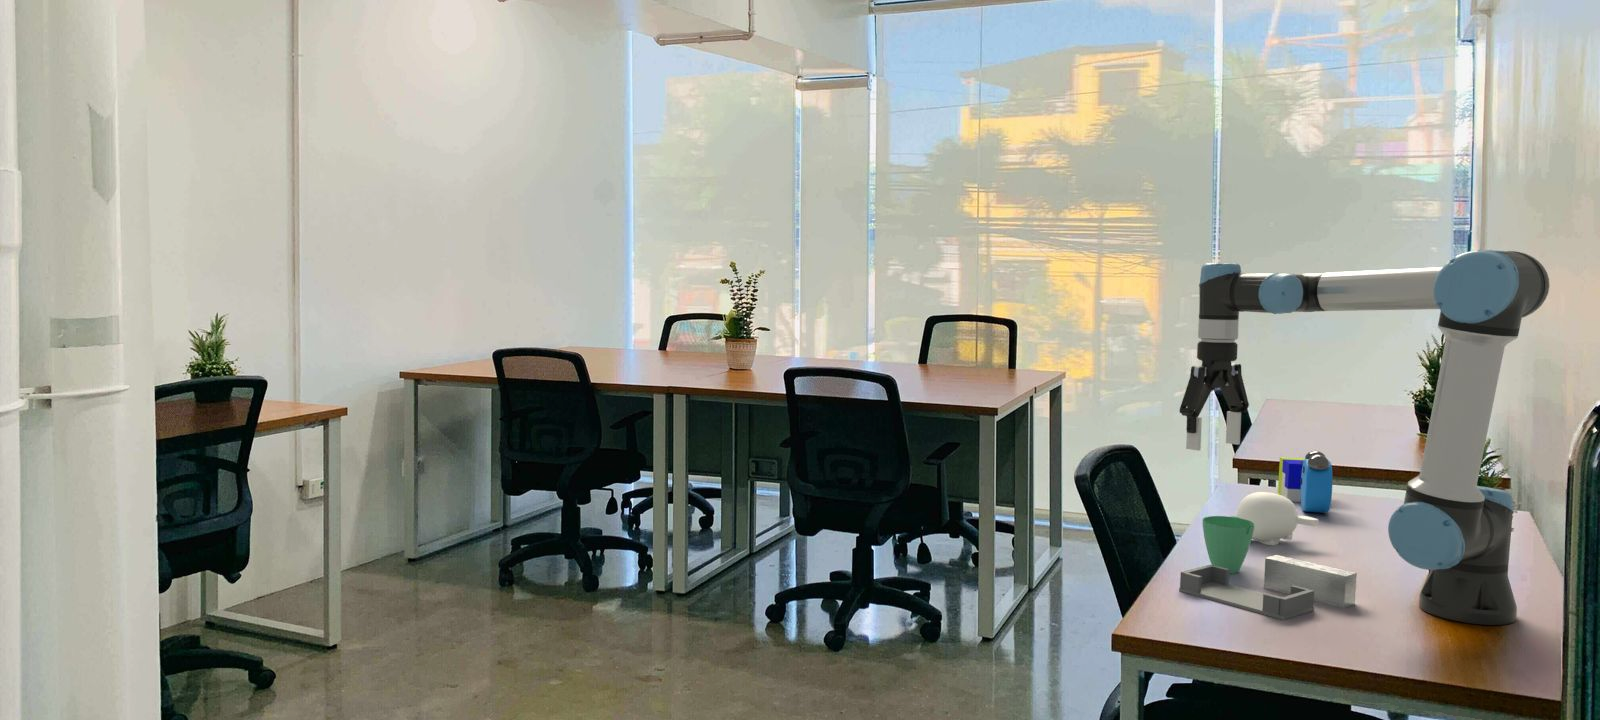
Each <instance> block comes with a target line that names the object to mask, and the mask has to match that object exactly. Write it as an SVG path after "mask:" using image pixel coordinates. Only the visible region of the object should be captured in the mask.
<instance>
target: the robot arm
mask: <svg viewBox="0 0 1600 720" xmlns="http://www.w3.org/2000/svg"><path fill="white" fill-rule="evenodd" d="M1199 280H1200V281H1199V284H1198V289H1199V294H1198V295H1199V309H1198V310H1199V311H1198V324H1197V325H1198V326H1197V327H1198V330H1197V338H1198V339H1200V341H1198V342H1197V346H1196V348H1197V349H1196V359H1198V360H1199V361H1201V366H1200V365H1192V366H1191V368H1190V376H1189V380H1188V382H1187V386H1186V388H1185V391H1184V395H1183V398H1182V401H1181V404H1180V407H1179V413H1180V414H1181V416H1185V417H1186V446H1185V449H1187V450H1193V451H1201V448H1202V445H1201V443H1202V439H1201V438H1202V425H1203V423H1202V422H1203V419H1202V416H1200V414H1201V413H1202V410H1203V408H1204V406H1205V404H1206V402H1207V400H1208V398H1209V396H1210V395H1211V393H1212V392H1213V391H1214V390H1215V389H1218V388H1219V389H1220V391H1221V393H1222V396H1223V398H1224V399H1225V401H1226V404H1227V406H1228V408H1229V410H1228V411H1226V428H1225V429H1226V430H1225V433H1226V434H1225V444H1230V445H1231V444H1232V445H1237V446H1240V444H1241V427H1242V413H1247V411H1248V408H1249V406H1250V402H1249V400H1248V399H1249V398H1248V396H1247V391H1246V388H1245V383H1244V379H1243V375H1242V364H1241V363H1232V362H1235V361H1237V360H1238V345H1239V344H1238V343H1237V342H1236V340H1238V339H1239V317H1240V313H1241V312H1243V313H1244V312H1247V313H1248V312H1250V313H1263V314H1264V313H1265V314H1273V315H1277V314H1279V315H1280V314H1282V315H1283V314H1292V313H1297V312H1298V313H1314V312H1338V311H1339V312H1345V311H1346V312H1347V311H1351V312H1352V311H1356V312H1357V311H1402V310H1403V311H1405V310H1407V311H1409V310H1413V311H1414V310H1417V311H1419V310H1420V311H1421V310H1440V313H1439V319H1438V322H1437V323H1438V325H1437V328H1438V329H1439V330H1440V332H1441V333H1442V335H1444V338H1445V342H1444V348H1443V354H1442V357H1441V363H1440V367H1439V373H1438V379H1437V383H1436V389H1435V394H1434V399H1433V405H1432V408H1431V409H1432V410H1431V415H1430V419H1429V423H1428V424H1429V425H1428V429H1427V434H1426V435H1427V436H1426V440H1425V445H1424V449H1423V450H1424V451H1423V455H1422V461H1421V465H1420V471H1419V474H1418V475H1417V476H1415V477H1413V478H1412V479H1410V480H1409V481H1408V482H1407V485H1406V486H1407V487H1406V490H1405V497H1404V500H1403V501H1404V502H1403V504H1402V505H1401V506H1399V507H1398V508H1397V509H1396V510H1395V511H1394V512H1393V513H1392V514H1391V515H1390V516H1391V517H1390V518H1389V521H1388V526H1387V529H1388V530H1387V531H1388V537H1389V541H1390V543H1391V546H1392V548H1393V549H1394V550H1395V552H1396V553H1397V554H1398V556H1399V557H1400V558H1401V559H1402V560H1404V561H1405V562H1407V563H1408V564H1409V565H1411V566H1413V567H1415V568H1418V569H1421V570H1426V571H1429V573H1428V575H1427V578H1426V580H1425V582H1424V584H1423V586H1422V588H1421V590H1420V593H1419V602H1418V606H1419V608H1420V609H1421V610H1422V611H1424V612H1426V613H1427V614H1430V615H1433V616H1436V617H1439V618H1443V619H1447V620H1450V621H1454V622H1455V621H1456V622H1459V623H1460V622H1461V623H1465V624H1466V623H1467V624H1472V625H1473V624H1474V625H1486V626H1500V625H1502V626H1503V625H1508V624H1509V625H1510V624H1513V623H1515V622H1516V621H1517V612H1518V607H1517V603H1516V599H1515V596H1514V593H1513V588H1512V586H1511V583H1510V579H1509V578H1510V577H1509V562H1510V550H1511V549H1510V548H1511V540H1512V539H1511V537H1512V527H1513V515H1514V512H1515V510H1514V508H1513V507H1514V502H1513V499H1514V498H1513V496H1512V494H1511V493H1510V492H1509V491H1507V490H1504V489H1499V488H1492V487H1486V486H1481V485H1480V486H1479V485H1478V480H1479V475H1480V470H1481V466H1482V460H1483V457H1484V456H1483V455H1484V451H1485V446H1486V441H1487V436H1488V431H1489V426H1490V422H1491V415H1492V412H1493V407H1494V401H1495V397H1496V392H1497V386H1498V381H1499V377H1500V376H1499V375H1500V372H1501V368H1502V367H1501V366H1502V362H1503V358H1504V353H1505V347H1506V346H1507V345H1508V344H1510V343H1512V342H1513V341H1515V340H1516V339H1518V338H1519V333H1520V328H1521V325H1522V324H1521V323H1522V319H1523V318H1526V317H1527V316H1529V315H1532V314H1533V313H1535V312H1536V311H1537V310H1539V309H1540V308H1541V306H1542V305H1543V304H1544V303H1545V301H1546V299H1547V297H1548V296H1549V295H1548V294H1549V292H1550V277H1549V275H1548V271H1547V270H1546V268H1545V267H1544V265H1542V263H1541V262H1540V261H1539V260H1537V259H1536V258H1535V257H1533V256H1532V255H1529V254H1528V253H1525V252H1520V251H1516V250H1515V251H1514V250H1512V251H1511V250H1508V251H1506V250H1493V249H1481V248H1479V249H1475V250H1471V251H1467V252H1462V253H1460V254H1458V255H1456V256H1454V257H1453V258H1451V259H1449V260H1448V261H1446V263H1445V264H1444V265H1443V266H1438V267H1422V268H1421V267H1419V268H1418V267H1417V268H1416V267H1414V268H1399V269H1398V268H1397V269H1378V270H1377V269H1376V270H1375V269H1374V270H1354V271H1333V272H1312V273H1311V272H1308V273H1307V272H1306V273H1285V272H1274V273H1272V272H1271V273H1265V272H1263V273H1262V272H1261V273H1259V272H1258V273H1245V272H1242V268H1241V265H1240V264H1239V263H1237V262H1231V263H1230V262H1227V263H1226V262H1206V263H1204V264H1202V266H1201V270H1200V278H1199Z"/></svg>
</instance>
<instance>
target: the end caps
mask: <svg viewBox="0 0 1600 720" xmlns="http://www.w3.org/2000/svg"><path fill="white" fill-rule="evenodd" d="M1179 576H1180V578H1179V581H1180V582H1179V588H1178V591H1179V592H1181V593H1185V594H1188V595H1193V596H1195V597H1199V598H1202V599H1207V600H1211V601H1213V602H1217V603H1221V604H1224V605H1228V606H1232V607H1236V608H1239V609H1243V610H1246V611H1249V612H1252V613H1257V614H1261V615H1263V616H1264V615H1265V616H1267V617H1270V618H1275V619H1277V620H1278V619H1279V620H1282V621H1284V620H1288V619H1292V618H1295V617H1297V616H1300V615H1304V614H1306V613H1310V612H1312V611H1314V610H1315V607H1314V601H1315V600H1314V591H1313V590H1310V589H1307V588H1303V587H1299V586H1295V585H1293V586H1291V593H1290V594H1288V595H1286V596H1283V597H1282V596H1279V595H1274V594H1270V593H1267V592H1266V593H1262V592H1259V591H1255V590H1251V589H1247V588H1243V587H1240V586H1236V585H1232V584H1230V582H1229V581H1230V573H1229V569H1227V568H1223V567H1219V566H1214V565H1211V564H1206V565H1204V566H1199V567H1195V568H1192V569H1187V570H1183V571H1180V575H1179Z"/></svg>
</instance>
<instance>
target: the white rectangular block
mask: <svg viewBox="0 0 1600 720" xmlns="http://www.w3.org/2000/svg"><path fill="white" fill-rule="evenodd" d="M1293 585H1295V586H1299V587H1303V588H1307V589H1310V590H1313V591H1314V601H1316V602H1319V603H1323V604H1327V605H1332V606H1336V607H1340V608H1343V609H1345V608H1348V607H1350V606H1351V607H1352V606H1354V605H1355V603H1356V590H1357V572H1355V571H1350V570H1345V569H1341V568H1336V567H1332V566H1328V565H1324V564H1319V563H1314V562H1311V561H1306V560H1305V561H1304V560H1301V559H1297V558H1296V559H1295V558H1292V557H1287V556H1283V555H1280V554H1279V555H1278V554H1275V555H1271V556H1267V557H1265V561H1264V579H1263V588H1264V589H1267V588H1268V589H1267V590H1271V591H1275V590H1277V591H1276V592H1279V591H1280V593H1283V594H1287V595H1290V593H1291V586H1293Z"/></svg>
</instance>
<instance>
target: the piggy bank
mask: <svg viewBox="0 0 1600 720" xmlns="http://www.w3.org/2000/svg"><path fill="white" fill-rule="evenodd" d="M1236 516H1237V517H1239V518H1242V519H1246V520H1249V521H1252V522H1253V523H1254V531H1253V535H1252V539H1251V540H1254V541H1256V542H1259V543H1261V544H1263V545H1267V546H1276V545H1278V544H1280V542H1281V541H1280V539H1283V540H1287V541H1290V540H1293V533H1294V531H1295V530H1296V528H1297V525H1298V524H1299V525H1303V526H1310V527H1311V526H1312V527H1315V526H1319V518H1315V517H1311V516H1309V515H1299V514H1298V510H1297V507H1296V505H1295V504H1294V503H1293V501H1290V500H1289V499H1288V498H1286V497H1284V496H1281V495H1279V494H1278V493H1275V492H1268V491H1256V492H1252V493H1250V494H1248V495H1246V496H1245V497H1244V498H1242V500H1241V501H1240V502H1239V504H1238V507H1237V512H1236Z"/></svg>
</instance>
